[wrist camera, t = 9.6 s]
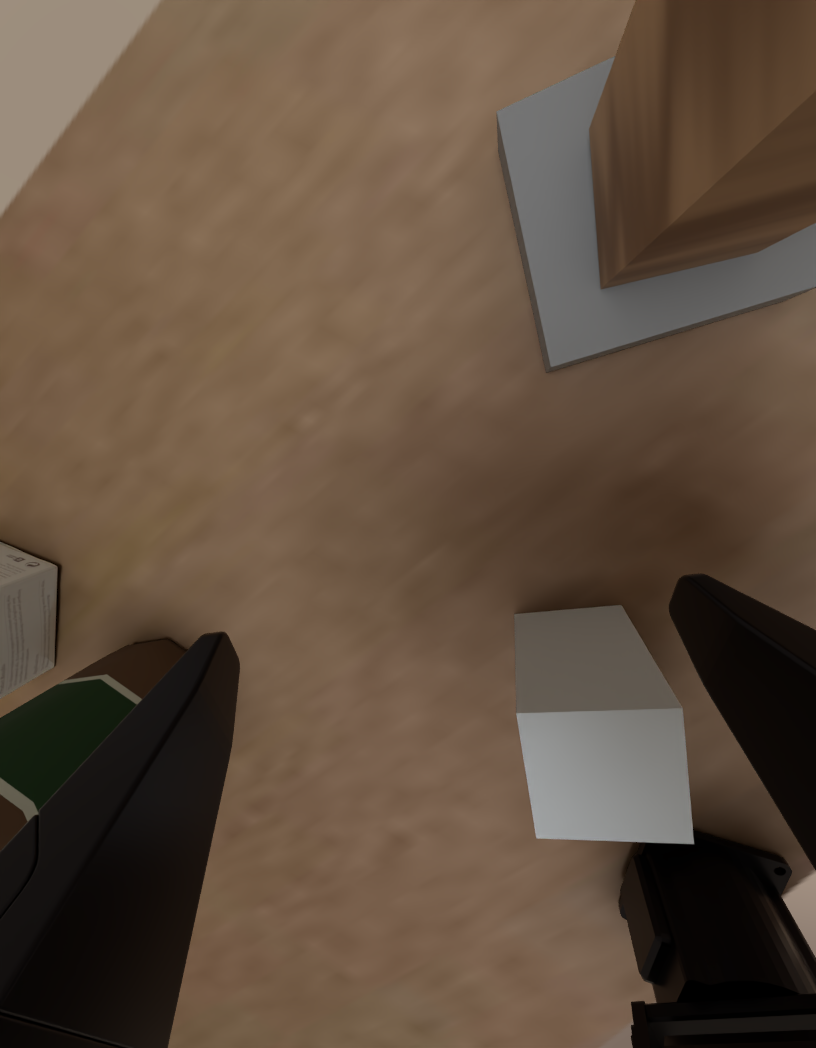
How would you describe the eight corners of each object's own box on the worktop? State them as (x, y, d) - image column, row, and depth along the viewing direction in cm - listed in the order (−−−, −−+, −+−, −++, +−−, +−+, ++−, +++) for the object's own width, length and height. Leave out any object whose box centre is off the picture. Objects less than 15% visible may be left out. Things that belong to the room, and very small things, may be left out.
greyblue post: (621, 604, 21) (682, 708, 14) (631, 698, 22) (693, 843, 15) (514, 613, 23) (516, 713, 15) (528, 702, 23) (536, 838, 16)
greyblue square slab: (775, 304, 18) (826, 283, 15) (545, 373, 20) (550, 367, 17) (743, 49, 16) (792, -28, 13) (498, 157, 19) (496, 111, 16)
